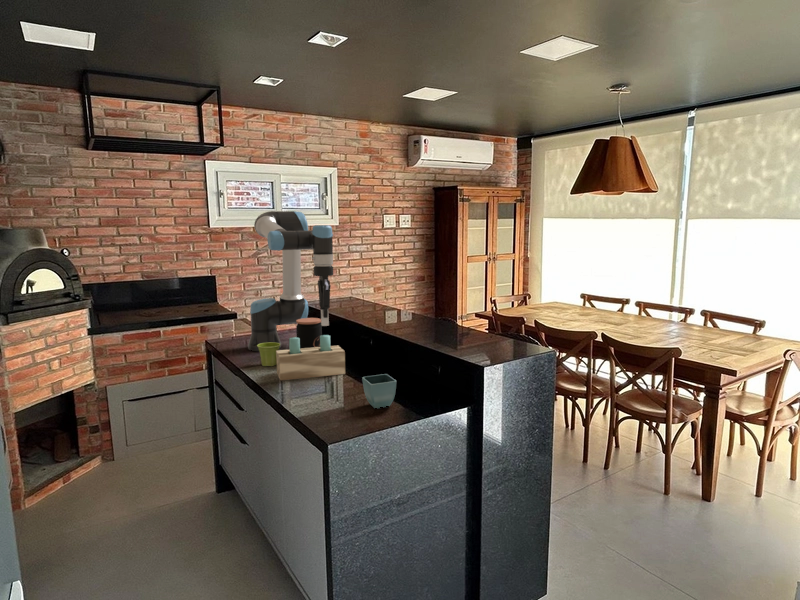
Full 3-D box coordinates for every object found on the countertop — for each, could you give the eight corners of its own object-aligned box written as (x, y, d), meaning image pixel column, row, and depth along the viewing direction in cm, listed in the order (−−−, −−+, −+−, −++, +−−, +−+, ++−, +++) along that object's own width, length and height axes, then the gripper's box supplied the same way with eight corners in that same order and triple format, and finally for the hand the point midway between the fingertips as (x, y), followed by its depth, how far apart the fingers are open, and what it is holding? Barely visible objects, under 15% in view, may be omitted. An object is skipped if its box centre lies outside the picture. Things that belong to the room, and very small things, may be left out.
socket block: (277, 372, 203) (276, 350, 201) (338, 366, 211) (338, 345, 210) (280, 380, 192) (279, 357, 191) (345, 373, 201) (344, 351, 200)
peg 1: (289, 357, 200) (288, 337, 199) (299, 356, 201) (298, 337, 200) (290, 360, 196) (289, 339, 195) (301, 359, 198) (300, 339, 197)
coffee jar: (317, 364, 214) (316, 322, 212) (293, 363, 216) (292, 321, 214) (326, 358, 225) (325, 318, 222) (303, 357, 227) (301, 317, 224)
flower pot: (371, 412, 159) (371, 384, 158) (361, 403, 167) (361, 376, 166) (397, 408, 162) (397, 380, 161) (386, 399, 170) (386, 373, 169)
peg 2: (319, 355, 204) (319, 335, 203) (329, 354, 205) (329, 334, 204) (321, 357, 200) (321, 337, 199) (331, 356, 202) (331, 336, 201)
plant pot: (272, 360, 221) (271, 341, 220) (285, 364, 215) (284, 344, 214) (253, 365, 214) (252, 345, 213) (267, 369, 208) (266, 348, 207)
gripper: (310, 264, 203) (312, 323, 206) (316, 266, 191) (318, 329, 194) (329, 264, 205) (330, 322, 208) (336, 266, 193) (338, 327, 196)
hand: (325, 325), depth 201 cm, fingers closed
